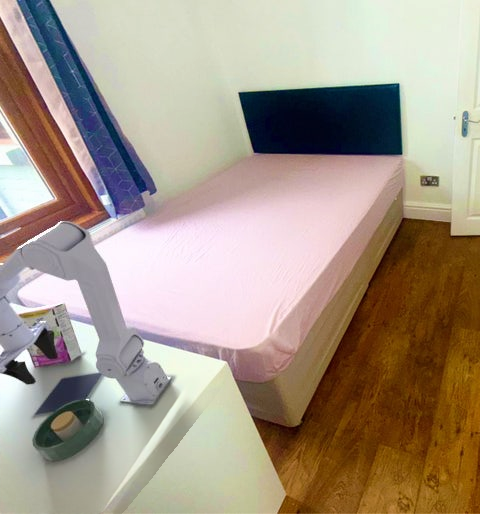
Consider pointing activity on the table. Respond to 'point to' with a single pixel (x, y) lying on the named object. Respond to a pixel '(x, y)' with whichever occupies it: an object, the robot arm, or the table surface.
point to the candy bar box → (62, 334)
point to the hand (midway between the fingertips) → (43, 370)
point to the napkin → (69, 392)
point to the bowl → (59, 450)
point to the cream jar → (66, 425)
